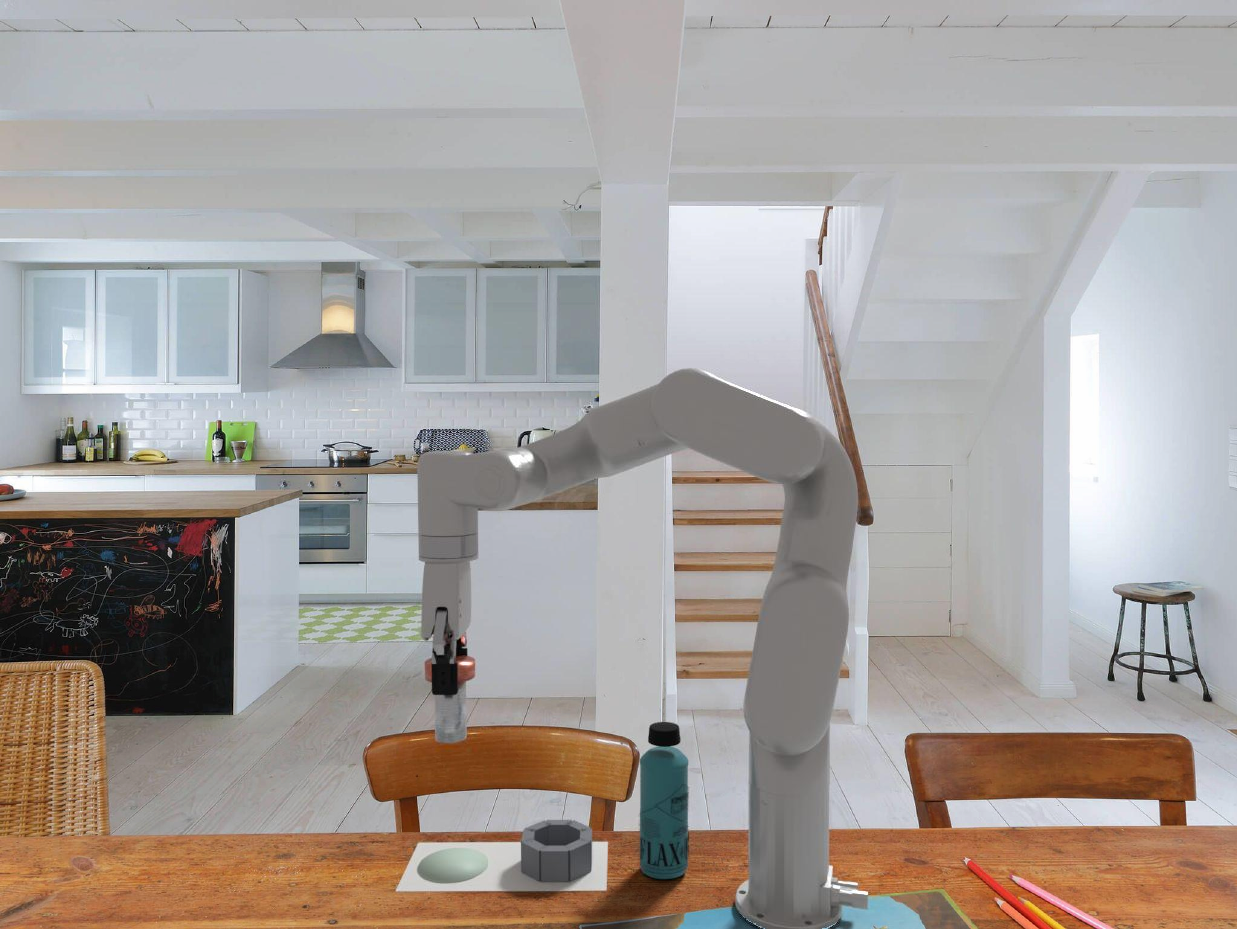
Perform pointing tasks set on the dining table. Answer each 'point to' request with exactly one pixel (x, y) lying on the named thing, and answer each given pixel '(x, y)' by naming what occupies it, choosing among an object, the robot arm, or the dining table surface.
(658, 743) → the beverage bottle
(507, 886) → the board
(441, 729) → the copper domed post
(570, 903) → the dining table surface
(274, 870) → the dining table surface
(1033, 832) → the dining table surface
